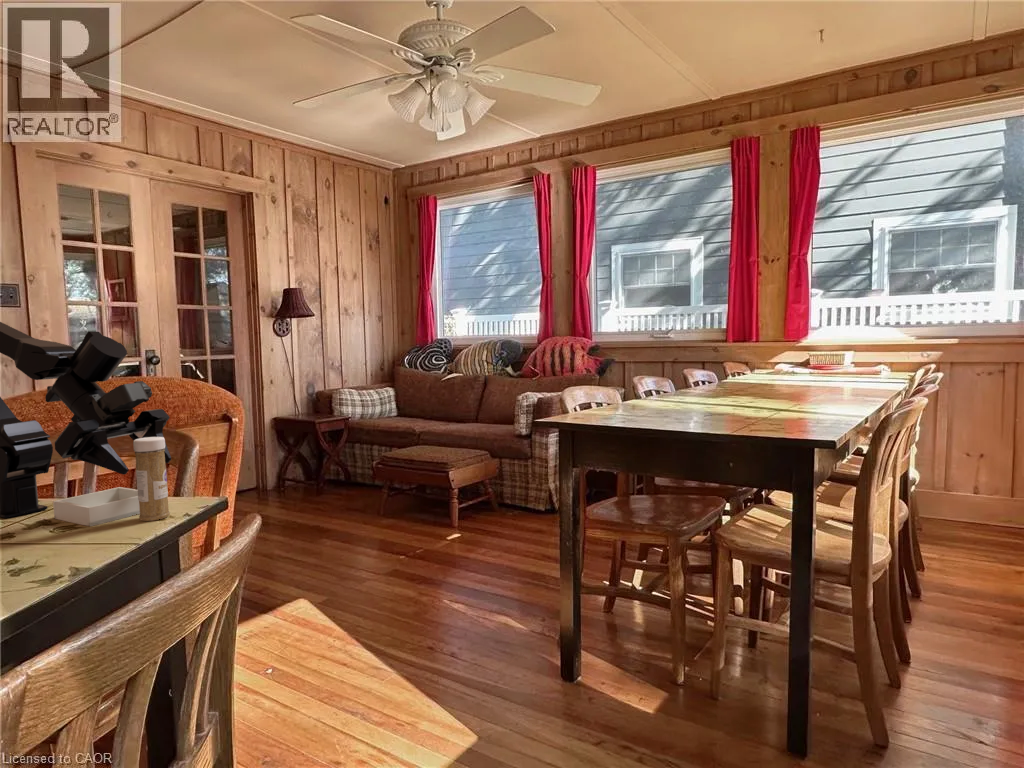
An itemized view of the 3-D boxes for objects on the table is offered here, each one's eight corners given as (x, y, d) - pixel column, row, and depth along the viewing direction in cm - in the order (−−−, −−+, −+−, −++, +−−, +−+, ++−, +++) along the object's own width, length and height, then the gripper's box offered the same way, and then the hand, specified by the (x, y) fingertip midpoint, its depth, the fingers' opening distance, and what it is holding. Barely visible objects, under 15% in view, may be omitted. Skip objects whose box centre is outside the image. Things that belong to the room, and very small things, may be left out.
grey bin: (54, 518, 107) (53, 501, 107) (120, 503, 117) (119, 486, 117) (90, 526, 102) (88, 508, 102) (156, 509, 112) (155, 492, 111)
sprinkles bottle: (171, 518, 106) (165, 438, 105) (139, 523, 103) (133, 441, 102) (168, 512, 109) (163, 435, 108) (137, 517, 107) (132, 438, 106)
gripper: (63, 370, 97) (130, 442, 95) (156, 364, 115) (214, 424, 113) (25, 421, 99) (90, 493, 97) (123, 408, 117) (179, 468, 115)
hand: (148, 466), depth 106 cm, fingers open, 9 cm apart
